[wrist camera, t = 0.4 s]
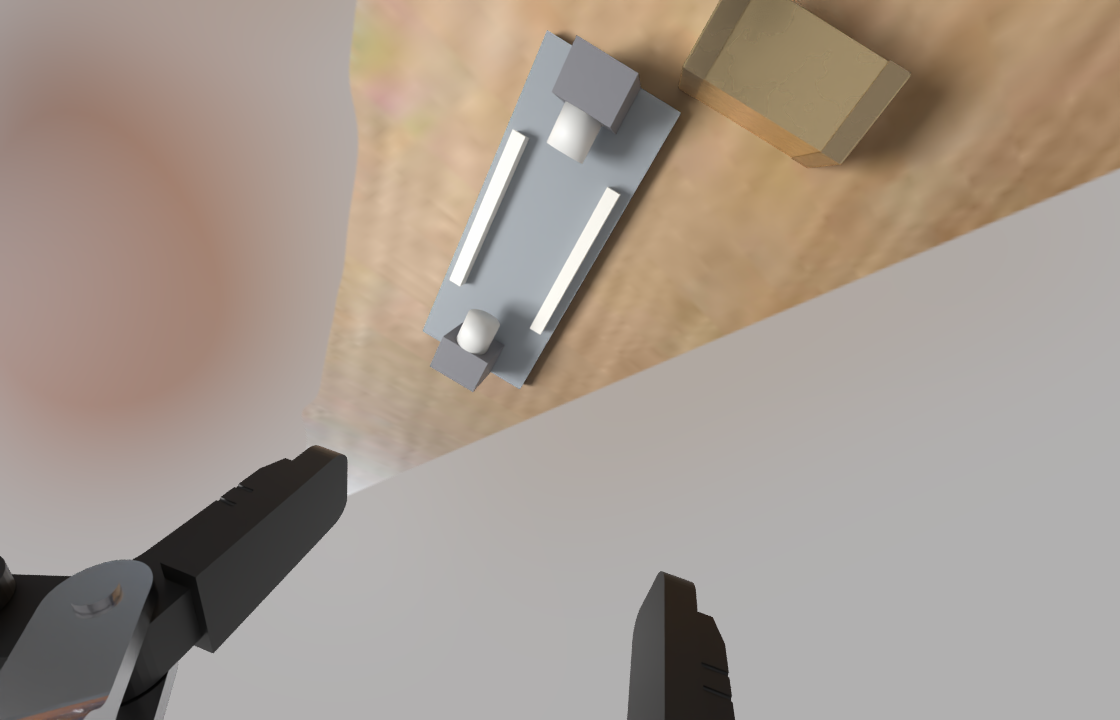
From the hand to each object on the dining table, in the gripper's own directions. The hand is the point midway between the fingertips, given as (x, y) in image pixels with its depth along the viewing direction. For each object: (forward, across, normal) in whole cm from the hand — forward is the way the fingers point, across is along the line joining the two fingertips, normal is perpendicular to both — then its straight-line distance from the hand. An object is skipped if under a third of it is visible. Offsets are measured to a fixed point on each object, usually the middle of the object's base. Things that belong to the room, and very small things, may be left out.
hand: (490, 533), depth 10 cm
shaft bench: (+26, +7, -2) cm, 27 cm away
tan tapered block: (+26, -6, -15) cm, 30 cm away
